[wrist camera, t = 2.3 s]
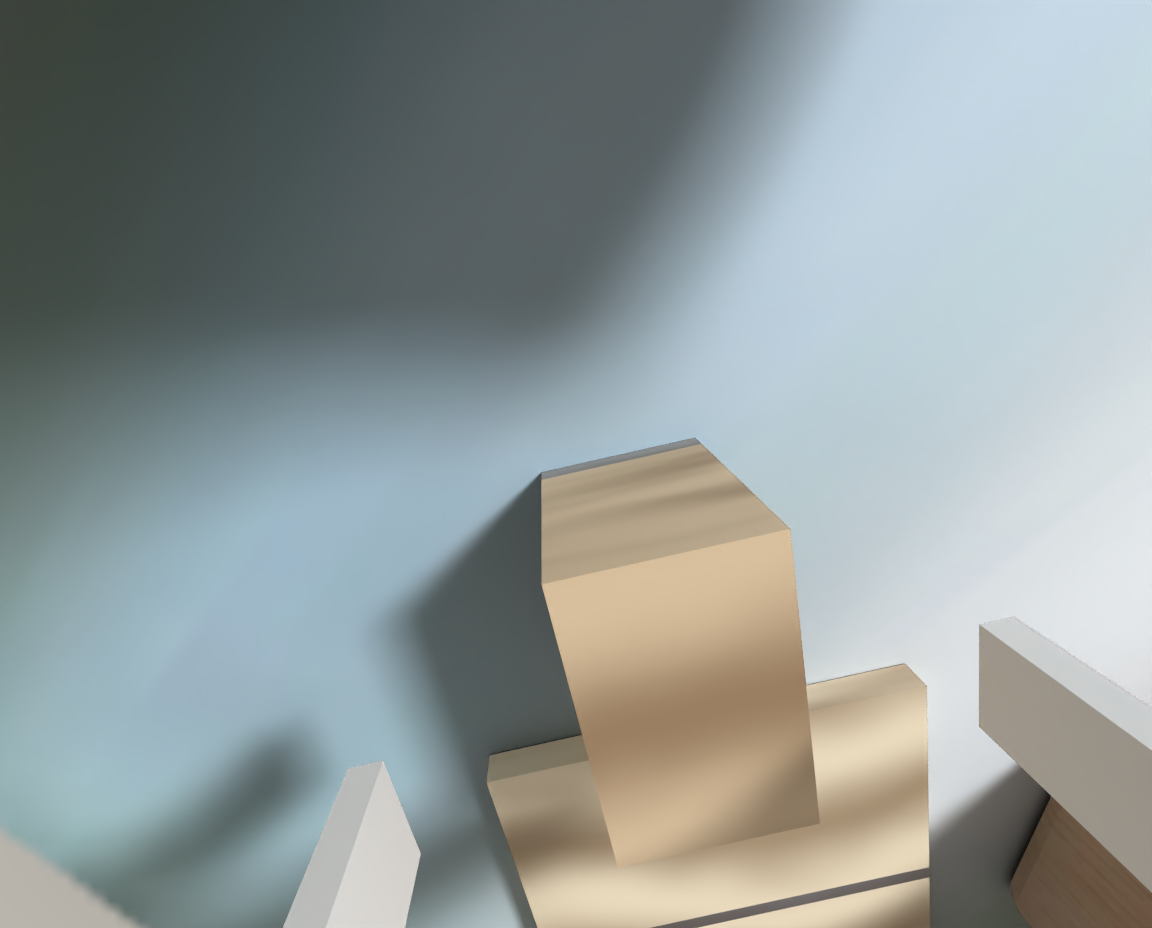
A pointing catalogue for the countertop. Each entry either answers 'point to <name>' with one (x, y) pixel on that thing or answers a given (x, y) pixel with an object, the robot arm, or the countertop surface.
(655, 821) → the block
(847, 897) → the board
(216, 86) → the countertop surface
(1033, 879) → the block
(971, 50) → the countertop surface
